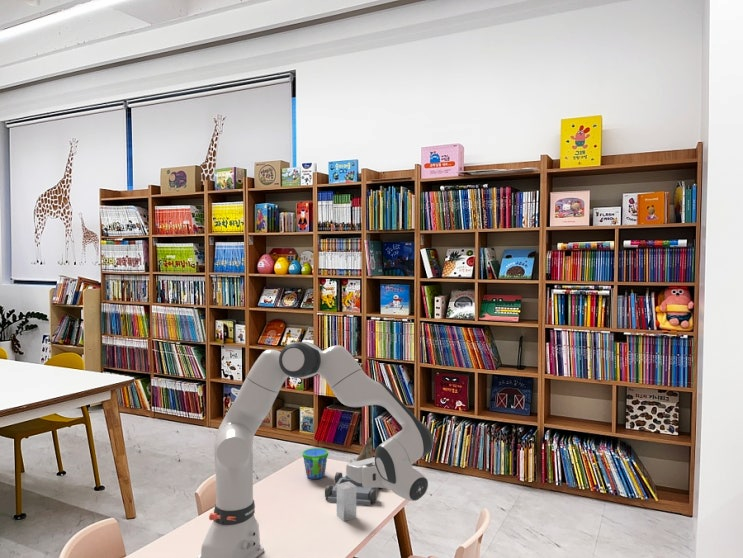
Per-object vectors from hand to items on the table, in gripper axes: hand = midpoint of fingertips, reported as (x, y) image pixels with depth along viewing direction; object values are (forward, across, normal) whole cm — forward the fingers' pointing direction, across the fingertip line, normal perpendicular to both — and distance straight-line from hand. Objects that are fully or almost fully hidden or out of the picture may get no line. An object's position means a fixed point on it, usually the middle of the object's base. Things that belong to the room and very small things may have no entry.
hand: (364, 458), depth 180 cm
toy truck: (+28, -13, +24) cm, 39 cm away
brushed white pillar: (+12, 0, +24) cm, 27 cm away
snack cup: (+50, -7, +24) cm, 56 cm away
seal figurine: (+42, -24, +24) cm, 54 cm away
